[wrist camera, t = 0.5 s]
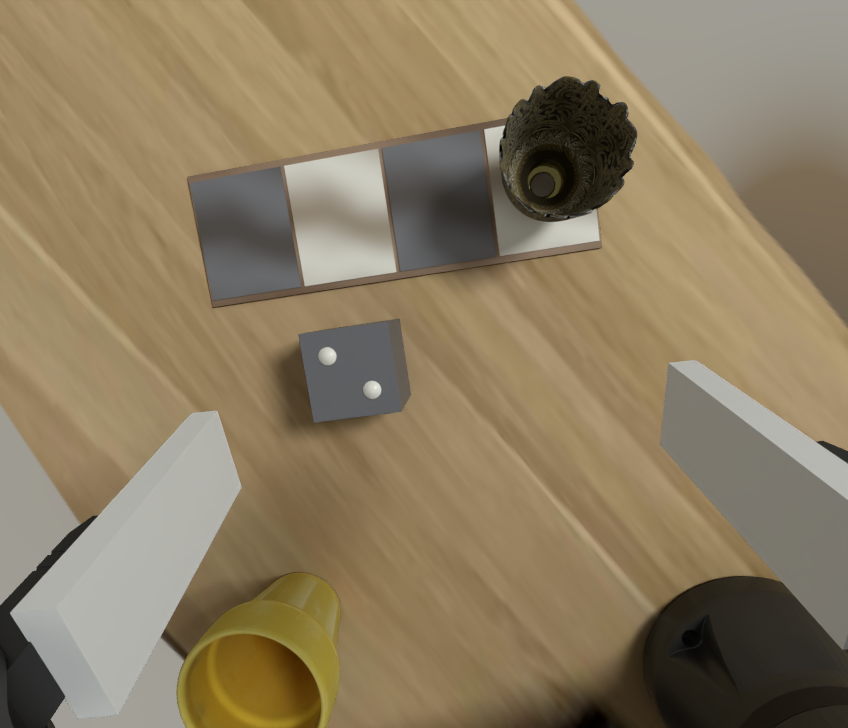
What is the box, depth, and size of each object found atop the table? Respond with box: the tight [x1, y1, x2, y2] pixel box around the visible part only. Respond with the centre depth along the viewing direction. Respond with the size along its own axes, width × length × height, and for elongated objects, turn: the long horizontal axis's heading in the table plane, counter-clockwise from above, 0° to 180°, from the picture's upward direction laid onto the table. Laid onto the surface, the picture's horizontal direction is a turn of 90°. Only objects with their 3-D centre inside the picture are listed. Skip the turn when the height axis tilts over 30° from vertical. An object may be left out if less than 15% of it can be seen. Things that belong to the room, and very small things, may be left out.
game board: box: [188, 118, 602, 307], centre depth 35 cm, size 10×30×1 cm, turn 98°
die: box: [298, 319, 411, 423], centre depth 34 cm, size 6×6×6 cm
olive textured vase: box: [499, 76, 637, 222], centre depth 30 cm, size 8×7×8 cm
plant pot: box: [177, 572, 341, 728], centre depth 35 cm, size 10×10×10 cm
